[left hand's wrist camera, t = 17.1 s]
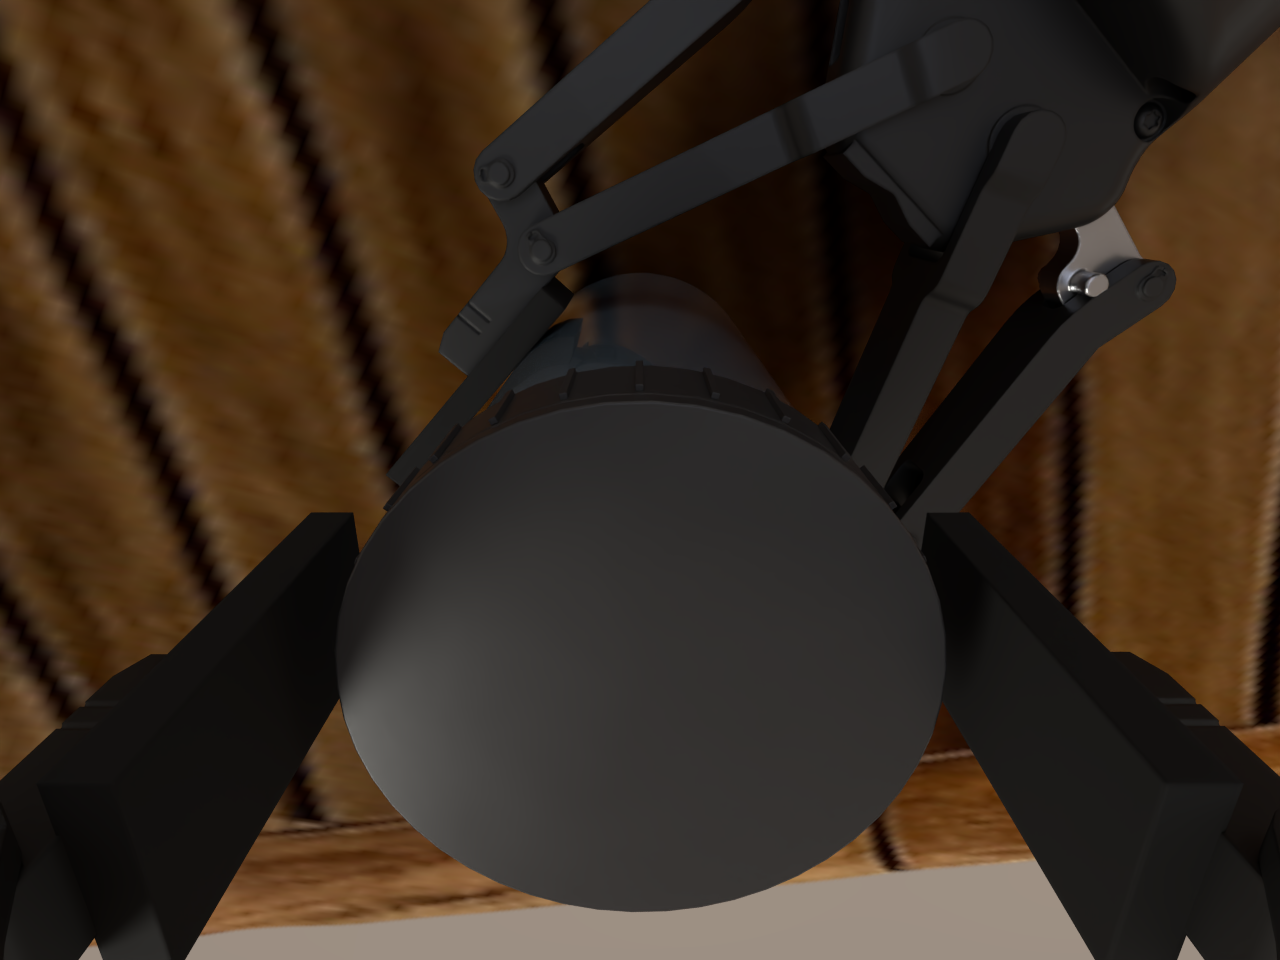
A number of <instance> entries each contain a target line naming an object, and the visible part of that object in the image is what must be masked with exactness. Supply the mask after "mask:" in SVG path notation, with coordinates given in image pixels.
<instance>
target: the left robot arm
mask: <svg viewBox="0 0 1280 960" xmlns="http://www.w3.org/2000/svg"><path fill="white" fill-rule="evenodd" d="M921 552H922V553H923V554H924V556H925V558H926V560H927V562H926V564H927V566H928V568H929V571H930V574H931V577H932V580H933V583H934V585H935V588H936V591H937V594H938V597H939V600H940V605H941V610H942V616H943V621H944V627H945V633H946V676H945V683H944V690H943V697H942V701H943V703H944V705H945V706H946V708H947V710H948V711H949V713H950V715H951V717H952V718H953V720H954V722H955V723H956V725H957V727H958V728H959V730H960V732H961V733H962V735H963V737H964V739H965V740H966V742H967V744H968V745H969V747H970V749H971V750H972V752H973V754H974V756H975V757H976V759H977V761H978V762H979V764H980V766H981V767H982V769H983V771H984V772H985V774H986V776H987V778H988V779H989V781H990V783H991V784H992V786H993V788H994V789H995V791H996V793H997V794H998V796H999V798H1000V800H1001V801H1002V803H1003V805H1004V806H1005V808H1006V810H1007V811H1008V813H1009V815H1010V817H1011V818H1012V820H1013V822H1014V823H1015V825H1016V827H1017V828H1018V830H1019V832H1020V833H1021V835H1022V837H1023V839H1024V840H1025V842H1026V844H1027V845H1028V847H1029V849H1030V850H1031V852H1032V854H1033V856H1034V857H1035V859H1036V861H1037V862H1038V864H1039V866H1040V867H1041V869H1042V871H1043V872H1044V874H1045V876H1046V877H1047V879H1048V881H1049V883H1050V884H1051V886H1052V888H1053V889H1054V891H1055V893H1056V894H1057V896H1058V898H1059V900H1060V901H1061V903H1062V905H1063V906H1064V908H1065V910H1066V911H1067V913H1068V915H1069V917H1070V918H1071V920H1072V921H1073V923H1074V925H1075V927H1076V928H1077V930H1078V932H1079V933H1080V935H1081V937H1082V939H1083V940H1084V942H1085V944H1086V945H1087V947H1088V949H1089V950H1090V952H1091V954H1092V955H1093V957H1094V959H1095V960H1177V959H1178V956H1179V953H1180V951H1181V948H1182V945H1183V943H1184V940H1185V937H1186V935H1187V937H1188V938H1189V939H1190V941H1191V942H1192V943H1193V945H1194V946H1195V947H1196V949H1197V950H1198V952H1199V953H1200V954H1201V956H1202V957H1203V958H1204V960H1280V776H1278V775H1277V774H1276V773H1275V772H1274V771H1273V770H1272V769H1271V768H1270V767H1269V766H1268V765H1266V764H1265V763H1264V762H1263V761H1262V760H1261V759H1260V758H1259V757H1258V756H1257V755H1256V754H1254V753H1253V752H1252V751H1251V750H1250V749H1249V748H1248V747H1247V746H1246V745H1245V744H1244V743H1243V742H1241V741H1240V740H1239V739H1238V738H1237V737H1236V736H1235V735H1234V734H1233V733H1232V732H1231V731H1229V730H1228V729H1227V728H1226V727H1225V726H1220V725H1219V720H1218V719H1216V718H1215V717H1214V716H1213V715H1212V714H1211V713H1210V712H1209V711H1208V710H1207V709H1206V708H1204V707H1203V706H1202V705H1201V704H1196V702H1195V698H1194V697H1192V696H1191V695H1190V694H1189V693H1188V692H1187V691H1186V690H1185V689H1184V688H1183V687H1182V686H1181V685H1179V684H1178V683H1177V682H1176V681H1175V680H1174V679H1173V678H1172V677H1171V676H1170V675H1169V674H1167V673H1166V672H1164V671H1162V670H1160V669H1159V668H1157V667H1155V666H1153V665H1152V664H1150V663H1148V662H1146V661H1145V660H1143V659H1141V658H1139V657H1138V656H1136V655H1134V654H1132V653H1131V652H1110V651H1109V650H1108V649H1107V648H1106V647H1105V646H1104V645H1103V644H1102V643H1101V642H1100V641H1099V640H1098V639H1097V638H1096V637H1095V636H1094V635H1093V634H1092V633H1091V632H1090V631H1089V630H1088V629H1087V628H1086V627H1085V626H1083V625H1082V624H1081V623H1080V622H1079V621H1078V620H1077V619H1076V618H1075V617H1074V616H1073V615H1072V614H1071V613H1070V612H1069V611H1068V610H1067V609H1066V608H1065V607H1064V606H1063V605H1062V604H1061V603H1060V602H1059V601H1058V600H1057V599H1056V598H1055V597H1054V596H1053V595H1052V594H1051V593H1050V592H1049V591H1048V590H1047V589H1046V588H1045V587H1044V586H1043V585H1042V584H1041V583H1040V582H1039V581H1038V580H1037V579H1036V578H1035V577H1034V576H1033V575H1032V574H1031V573H1030V572H1029V571H1028V570H1027V569H1026V568H1025V567H1024V566H1023V565H1022V564H1021V563H1020V562H1019V561H1017V560H1016V559H1015V558H1014V557H1013V556H1012V555H1011V554H1010V553H1009V552H1008V551H1007V550H1006V549H1005V548H1004V547H1003V546H1002V545H1001V544H1000V543H999V542H998V541H997V540H996V539H995V538H994V537H993V536H992V535H991V534H990V533H989V532H988V531H987V530H986V529H985V528H984V527H983V526H982V525H981V524H980V523H979V522H978V521H977V520H976V519H975V518H974V517H973V516H972V515H971V514H970V513H927V515H926V521H925V528H924V534H923V541H922V547H921ZM358 555H359V547H358V541H357V534H356V528H355V521H354V515H353V513H310V514H309V515H308V516H307V517H306V518H305V519H304V520H303V521H302V522H301V523H300V524H299V525H298V526H297V527H296V528H295V529H294V530H293V531H292V532H291V533H290V534H289V535H288V536H287V537H286V538H285V539H284V540H283V541H282V542H281V543H280V544H279V545H278V546H277V547H276V548H275V549H274V550H273V551H272V552H271V553H270V554H269V555H268V556H267V557H266V558H265V559H264V560H263V561H261V562H260V563H259V564H258V565H257V566H256V567H255V568H254V569H253V570H252V571H251V572H250V573H249V574H248V575H247V576H246V577H245V578H244V579H243V580H242V581H241V582H240V583H239V584H238V585H237V586H236V587H235V588H234V589H233V590H232V591H231V592H230V593H229V594H228V595H227V596H226V597H225V598H224V599H223V600H222V601H221V602H220V603H219V604H218V605H217V606H216V607H215V608H214V609H213V610H212V611H211V612H210V613H209V614H208V615H207V616H206V617H205V618H204V619H203V620H202V621H201V622H200V623H199V624H198V625H197V626H195V627H194V628H193V629H192V630H191V631H190V632H189V633H188V634H187V635H186V636H185V637H184V638H183V639H182V640H181V641H180V642H179V643H178V644H177V645H176V646H175V647H174V648H173V649H172V650H171V651H170V652H169V653H168V654H151V655H149V656H147V657H146V658H144V659H142V660H140V661H139V662H137V663H135V664H133V665H132V666H130V667H128V668H126V669H125V670H123V671H121V672H120V673H118V674H116V675H114V676H113V677H112V678H111V679H110V680H108V681H107V682H106V683H105V684H104V685H103V686H102V687H101V688H100V689H99V690H98V691H97V692H95V693H94V694H93V695H92V696H91V697H90V698H89V699H88V700H87V701H86V702H85V703H86V704H85V707H79V708H78V709H77V710H76V711H75V712H74V713H73V714H72V715H71V716H70V717H68V718H67V719H66V720H65V721H64V722H63V723H62V728H61V729H56V730H54V731H53V732H52V733H51V734H50V735H49V736H48V737H47V738H46V739H45V740H44V741H43V742H41V743H40V744H39V745H38V746H37V747H36V748H35V749H34V750H33V751H32V752H31V753H30V754H28V755H27V756H26V757H25V758H24V759H23V760H22V761H21V762H20V763H19V764H18V765H17V766H16V767H14V768H13V769H12V770H11V771H10V772H9V773H8V774H7V775H6V776H5V777H4V778H3V779H1V780H0V960H79V958H80V957H81V956H82V954H83V953H84V952H85V950H86V949H87V947H88V946H89V945H90V943H91V942H92V941H93V939H94V938H95V940H96V943H97V945H98V948H99V951H100V953H101V956H102V958H103V960H185V959H186V957H187V955H188V954H189V952H190V950H191V949H192V947H193V945H194V944H195V942H196V940H197V938H198V937H199V935H200V933H201V932H202V930H203V928H204V927H205V925H206V923H207V922H208V920H209V918H210V917H211V915H212V913H213V911H214V910H215V908H216V906H217V905H218V903H219V901H220V900H221V898H222V896H223V894H224V893H225V891H226V889H227V888H228V886H229V884H230V883H231V881H232V879H233V878H234V876H235V874H236V872H237V871H238V869H239V867H240V866H241V864H242V862H243V861H244V859H245V857H246V856H247V854H248V852H249V850H250V849H251V847H252V845H253V844H254V842H255V840H256V839H257V837H258V835H259V833H260V832H261V830H262V828H263V827H264V825H265V823H266V822H267V820H268V818H269V817H270V815H271V813H272V811H273V810H274V808H275V806H276V805H277V803H278V801H279V800H280V798H281V796H282V794H283V793H284V791H285V789H286V788H287V786H288V784H289V783H290V781H291V779H292V778H293V776H294V774H295V772H296V771H297V769H298V767H299V766H300V764H301V762H302V761H303V759H304V757H305V756H306V754H307V752H308V750H309V749H310V747H311V745H312V744H313V742H314V740H315V739H316V737H317V735H318V733H319V732H320V730H321V728H322V727H323V725H324V723H325V722H326V720H327V718H328V717H329V715H330V713H331V711H332V710H333V708H334V706H335V705H336V703H337V701H338V700H339V694H338V689H337V680H336V663H335V644H336V634H337V624H338V616H339V612H340V608H341V605H342V601H343V597H344V593H345V589H346V586H347V582H348V580H349V578H350V576H351V573H352V571H353V569H354V567H355V564H354V562H355V559H356V557H357V556H358Z"/></svg>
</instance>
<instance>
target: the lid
mask: <svg viewBox="0 0 1280 960" xmlns="http://www.w3.org/2000/svg"><path fill="white" fill-rule="evenodd" d="M896 507H897V505H896V504H895V502H894V501H893V500H892V498H891V497H890V496H889V495H888V494H887V492H886V491H885V490H884V489H883V487H882V486H881V485H880V484H879V482H878V481H877V480H876V479H875V478H874V476H873V475H872V474H871V473H870V471H869V470H868V469H867V468H866V466H865V465H863V466H862V467H860V468H859V467H858V466H857V464H856V463H855V462H854V461H853V459H852V458H851V456H850V455H849V453H848V452H847V451H846V450H845V448H844V447H843V446H842V445H841V443H840V442H839V441H838V440H837V438H836V437H835V436H834V434H833V433H832V432H831V431H830V429H829V428H828V427H827V426H826V425H825V424H824V423H823V422H821V423H820V424H819V425H816V424H815V423H814V422H812V421H811V420H809V419H808V418H807V417H805V416H804V415H803V414H801V413H800V412H798V411H797V410H796V409H794V408H792V407H791V406H789V405H787V404H785V403H783V402H781V401H779V399H778V398H777V396H776V395H775V393H774V392H773V391H772V390H770V389H768V388H767V389H766V391H765V392H763V391H760V390H758V389H755V388H752V387H750V386H747V385H744V384H742V383H739V382H736V381H734V380H731V379H728V378H725V377H721V376H716V375H713V374H712V371H711V369H710V368H706V367H704V368H703V372H699V371H695V370H690V369H681V368H671V367H661V366H651V365H650V366H643V361H636V366H619V367H607V368H601V369H595V370H589V371H582V372H576V368H572V369H568V372H567V374H566V375H565V376H562V377H558V378H555V379H552V380H548V381H545V382H542V383H538V384H536V385H534V386H531V387H529V388H527V389H525V390H522V391H520V392H518V393H516V394H515V393H514V391H513V390H512V389H511V390H509V391H507V392H506V393H505V395H504V396H503V398H502V399H501V401H499V402H498V403H496V404H495V405H493V406H492V407H490V408H488V409H487V410H485V411H484V412H482V413H480V414H479V415H477V416H476V417H474V418H472V419H471V420H470V421H469V422H468V423H466V424H465V425H464V426H463V427H461V426H460V425H459V424H456V425H455V426H454V427H453V428H452V429H451V431H450V432H449V433H448V434H447V436H446V437H445V438H444V439H443V441H442V442H441V443H440V445H439V446H438V447H437V448H436V450H435V451H434V452H433V453H432V455H431V456H430V457H429V460H428V461H427V462H426V464H425V465H424V466H423V467H422V468H421V469H419V468H417V467H415V468H414V470H413V471H412V472H411V473H410V475H409V476H408V477H407V478H406V480H405V481H404V482H403V483H402V484H401V486H400V487H399V488H398V489H397V491H396V492H395V493H394V494H393V496H392V497H391V498H390V499H389V501H388V502H387V503H386V504H385V506H384V507H383V509H385V510H386V511H388V512H387V513H386V514H385V516H384V517H383V518H382V520H381V521H380V523H379V524H378V526H377V527H376V529H375V530H374V532H373V534H372V535H371V537H370V538H369V540H368V541H367V543H366V544H365V546H364V547H363V549H362V551H361V552H360V553H359V555H358V556H357V557H356V559H355V562H354V564H355V567H354V569H353V571H352V573H351V576H350V578H349V580H348V582H347V586H346V589H345V593H344V597H343V601H342V605H341V608H340V612H339V616H338V624H337V634H336V644H335V663H336V680H337V689H338V694H339V698H340V703H341V707H342V712H343V716H344V720H345V723H346V725H347V728H348V730H349V733H350V736H351V738H352V741H353V744H354V746H355V749H356V751H357V753H358V754H359V756H360V758H361V760H362V762H363V763H364V765H365V767H366V769H367V771H368V772H369V774H370V776H371V778H372V779H373V781H374V782H375V783H376V785H377V786H378V787H379V789H380V790H381V791H382V793H383V794H384V795H385V797H386V798H387V799H388V801H389V802H390V803H391V805H392V806H393V807H394V808H395V809H396V810H397V811H398V812H399V813H400V814H401V815H402V816H403V817H404V818H405V819H406V820H407V821H408V822H409V823H410V824H411V826H412V827H413V828H414V829H416V830H417V831H418V832H419V833H421V834H422V835H423V836H424V837H425V838H427V839H428V840H429V841H430V842H432V843H433V844H434V845H435V846H436V847H438V848H439V849H440V850H442V851H443V852H445V853H446V854H448V855H449V856H451V857H453V858H454V859H456V860H457V861H459V862H460V863H462V864H463V865H465V866H467V867H468V868H470V869H472V870H474V871H476V872H478V873H480V874H482V875H484V876H486V877H488V878H490V879H492V880H494V881H496V882H498V883H500V884H503V885H506V886H508V887H511V888H514V889H516V890H519V891H521V892H524V893H527V894H529V895H533V896H536V897H540V898H544V899H548V900H551V901H555V902H559V903H562V904H568V905H574V906H580V907H586V908H592V909H597V910H612V911H625V912H652V911H672V910H680V909H689V908H697V907H703V906H708V905H713V904H717V903H722V902H727V901H731V900H735V899H738V898H741V897H745V896H747V895H751V894H754V893H757V892H760V891H763V890H766V889H769V888H771V887H773V886H776V885H778V884H780V883H782V882H785V881H787V880H789V879H792V878H794V877H796V876H798V875H800V874H802V873H804V872H805V871H807V870H809V869H811V868H812V867H814V866H816V865H818V864H819V863H821V862H823V861H825V860H827V859H828V858H829V857H831V856H832V855H834V854H835V853H836V852H838V851H839V850H841V849H842V848H843V847H845V846H846V845H847V844H849V843H850V842H852V841H853V840H854V839H855V838H857V837H858V836H859V835H860V834H861V833H862V832H863V831H864V830H865V829H866V828H867V827H869V826H870V825H871V824H872V823H873V822H874V821H875V820H876V819H877V818H878V817H879V816H880V815H881V814H882V813H883V812H884V810H885V809H886V808H887V807H888V806H889V805H890V803H891V802H892V801H893V800H894V799H895V797H896V796H897V795H898V794H899V793H900V792H901V790H902V788H903V787H904V785H905V784H906V782H907V781H908V779H909V778H910V776H911V775H912V773H913V772H914V770H915V768H916V767H917V765H918V764H919V762H920V759H921V757H922V755H923V753H924V751H925V749H926V747H927V744H928V742H929V740H930V738H931V736H932V733H933V730H934V727H935V723H936V720H937V717H938V713H939V710H940V707H941V703H942V697H943V690H944V683H945V676H946V633H945V627H944V621H943V616H942V610H941V605H940V600H939V597H938V594H937V591H936V588H935V585H934V583H933V580H932V577H931V574H930V571H929V568H928V566H927V564H926V562H927V560H926V558H925V556H924V554H923V553H922V552H921V550H920V549H919V548H918V547H917V545H916V544H915V542H914V540H913V538H912V536H911V534H910V533H909V532H908V530H907V529H906V528H905V526H904V525H903V524H902V522H901V521H900V520H899V518H898V517H897V516H896V514H895V513H894V512H893V509H894V508H896Z"/></svg>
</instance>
